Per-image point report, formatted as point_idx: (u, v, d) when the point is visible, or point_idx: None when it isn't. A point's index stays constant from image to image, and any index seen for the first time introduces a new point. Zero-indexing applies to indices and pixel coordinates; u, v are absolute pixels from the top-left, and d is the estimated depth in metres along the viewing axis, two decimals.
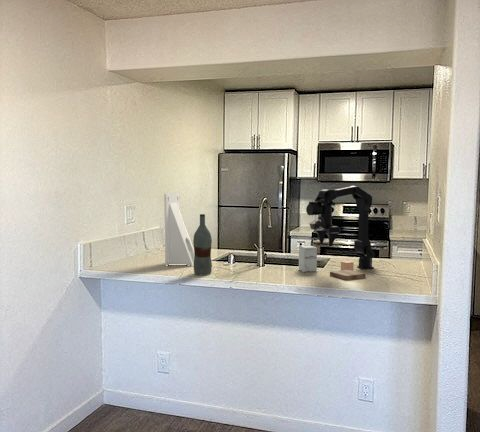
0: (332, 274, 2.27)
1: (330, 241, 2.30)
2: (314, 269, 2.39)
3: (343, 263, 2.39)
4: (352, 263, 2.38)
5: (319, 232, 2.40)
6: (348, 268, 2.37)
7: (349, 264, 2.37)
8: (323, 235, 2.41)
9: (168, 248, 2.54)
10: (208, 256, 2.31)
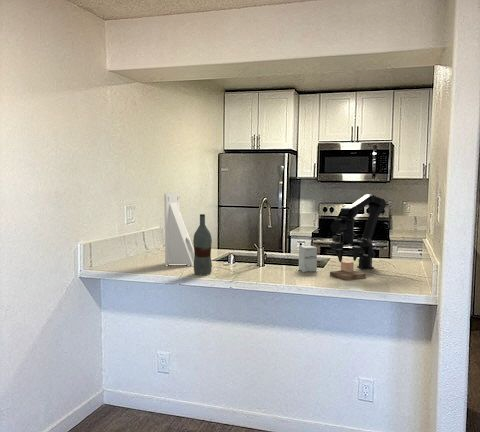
0: (332, 274, 2.27)
1: (338, 257, 2.37)
2: (314, 269, 2.39)
3: (343, 263, 2.39)
4: (352, 263, 2.38)
5: (353, 249, 2.42)
6: (348, 268, 2.37)
7: (349, 264, 2.37)
8: (356, 252, 2.40)
9: (168, 248, 2.54)
10: (208, 256, 2.31)
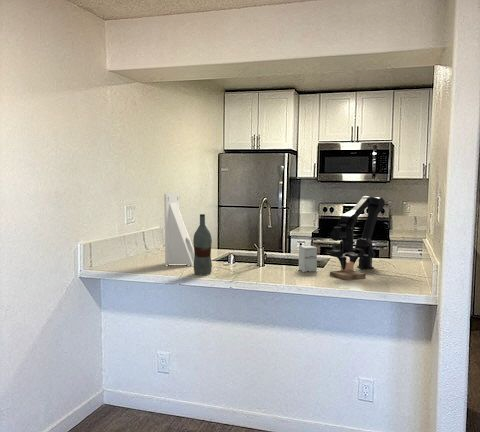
0: (332, 274, 2.27)
1: (341, 264, 2.39)
2: (314, 269, 2.39)
3: None
4: (352, 263, 2.38)
5: (350, 257, 2.41)
6: (348, 268, 2.37)
7: (349, 264, 2.37)
8: (352, 260, 2.40)
9: (168, 248, 2.54)
10: (208, 256, 2.31)
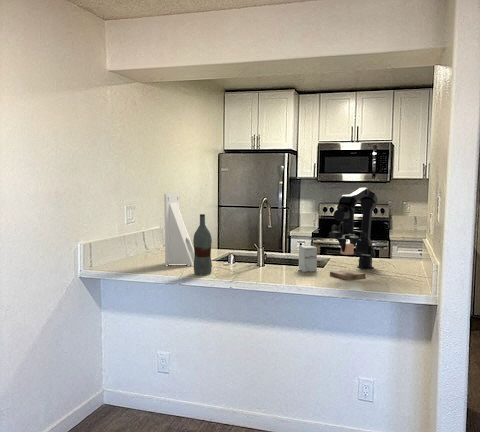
0: (332, 274, 2.27)
1: (341, 246, 2.29)
2: (314, 269, 2.39)
3: None
4: (352, 245, 2.29)
5: (350, 239, 2.32)
6: (348, 250, 2.28)
7: (349, 246, 2.28)
8: (353, 243, 2.30)
9: (168, 248, 2.54)
10: (208, 256, 2.31)
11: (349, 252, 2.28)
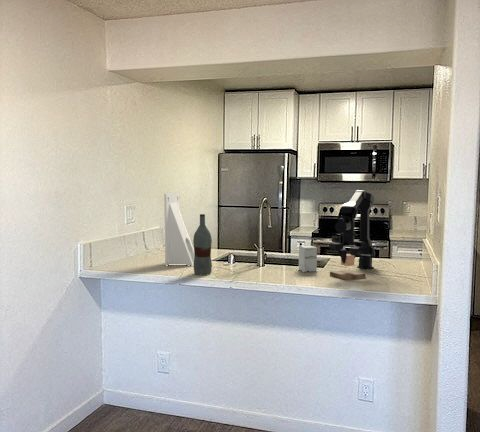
0: (332, 274, 2.27)
1: (341, 258, 2.24)
2: (314, 269, 2.39)
3: None
4: (353, 256, 2.24)
5: (351, 250, 2.27)
6: (349, 261, 2.23)
7: (350, 257, 2.23)
8: (353, 254, 2.25)
9: (168, 248, 2.54)
10: (208, 256, 2.31)
11: (350, 263, 2.23)
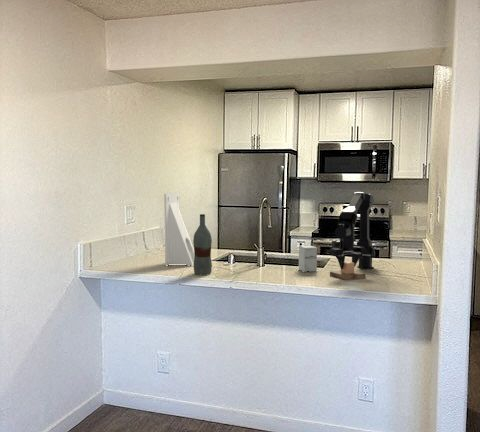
0: (332, 274, 2.27)
1: (339, 263, 2.24)
2: (314, 269, 2.39)
3: None
4: (353, 264, 2.24)
5: (352, 255, 2.28)
6: (348, 269, 2.23)
7: (350, 265, 2.23)
8: (355, 259, 2.26)
9: (168, 248, 2.54)
10: (208, 256, 2.31)
11: (350, 271, 2.24)
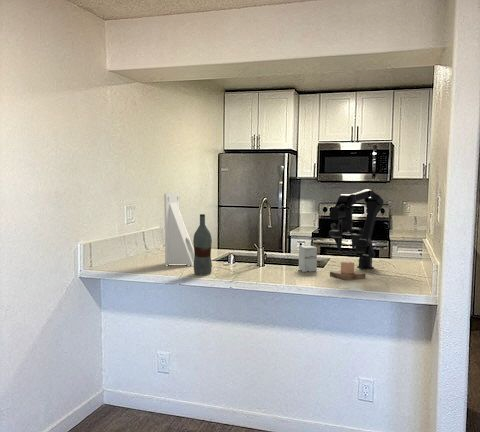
0: (332, 274, 2.27)
1: (337, 245, 2.35)
2: (314, 269, 2.39)
3: (343, 264, 2.25)
4: (353, 264, 2.24)
5: (352, 236, 2.40)
6: (348, 269, 2.23)
7: (350, 265, 2.23)
8: (355, 240, 2.38)
9: (168, 248, 2.54)
10: (208, 256, 2.31)
11: (350, 271, 2.24)
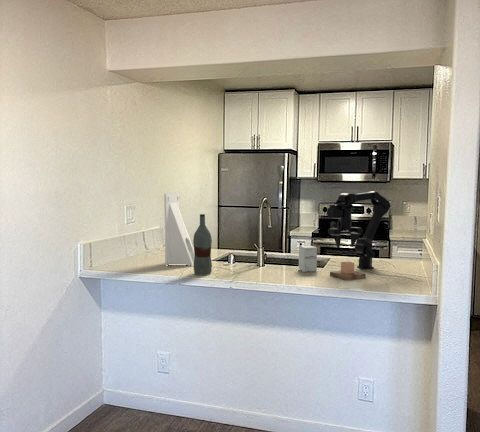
0: (332, 274, 2.27)
1: (336, 243, 2.40)
2: (314, 269, 2.39)
3: (343, 264, 2.25)
4: (353, 264, 2.24)
5: (351, 235, 2.45)
6: (348, 269, 2.23)
7: (350, 265, 2.23)
8: (354, 238, 2.43)
9: (168, 248, 2.54)
10: (208, 256, 2.31)
11: (350, 271, 2.24)
